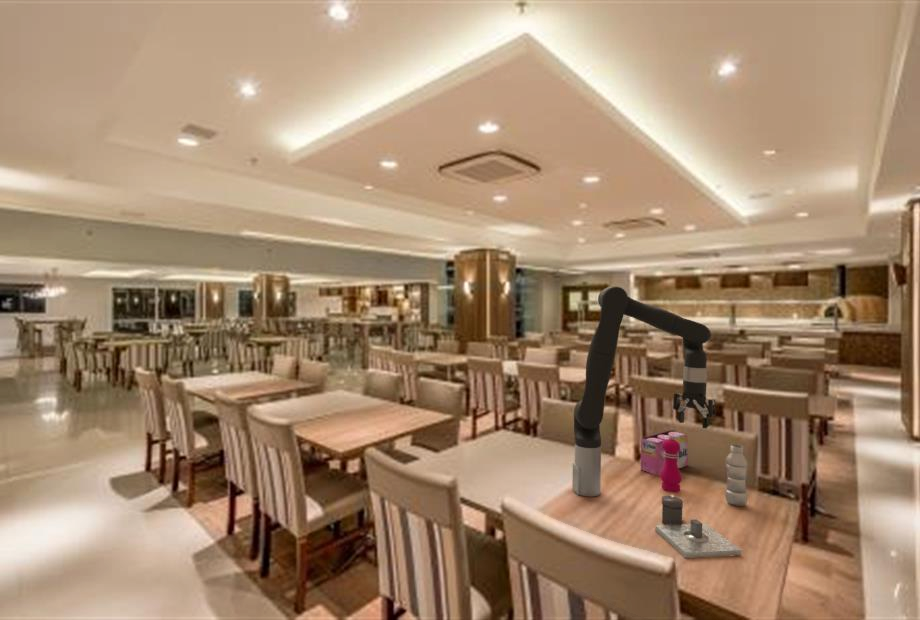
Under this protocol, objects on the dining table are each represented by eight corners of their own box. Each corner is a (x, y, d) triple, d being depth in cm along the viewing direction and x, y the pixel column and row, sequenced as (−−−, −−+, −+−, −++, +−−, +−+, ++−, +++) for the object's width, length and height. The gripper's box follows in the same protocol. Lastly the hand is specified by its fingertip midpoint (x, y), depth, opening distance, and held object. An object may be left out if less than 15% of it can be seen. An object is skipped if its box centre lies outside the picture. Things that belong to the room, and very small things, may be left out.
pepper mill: (683, 493, 173) (684, 438, 173) (662, 491, 175) (663, 437, 174) (678, 486, 180) (679, 433, 180) (658, 484, 182) (659, 432, 181)
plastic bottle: (739, 510, 160) (740, 450, 159) (720, 502, 166) (721, 444, 165) (751, 506, 163) (752, 447, 162) (732, 499, 169) (733, 442, 168)
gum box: (672, 460, 211) (672, 429, 211) (689, 465, 204) (690, 433, 204) (639, 470, 197) (640, 437, 197) (657, 476, 191) (657, 442, 190)
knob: (682, 526, 147) (683, 502, 147) (661, 523, 149) (661, 499, 149) (682, 518, 153) (682, 495, 152) (661, 515, 155) (662, 492, 155)
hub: (685, 558, 129) (686, 536, 129) (655, 530, 145) (655, 510, 145) (741, 555, 130) (741, 533, 130) (705, 528, 146) (705, 508, 146)
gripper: (670, 377, 174) (668, 422, 174) (709, 383, 162) (707, 431, 162) (681, 376, 178) (679, 419, 178) (720, 382, 166) (718, 428, 166)
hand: (693, 425), depth 170 cm, fingers open, 8 cm apart
